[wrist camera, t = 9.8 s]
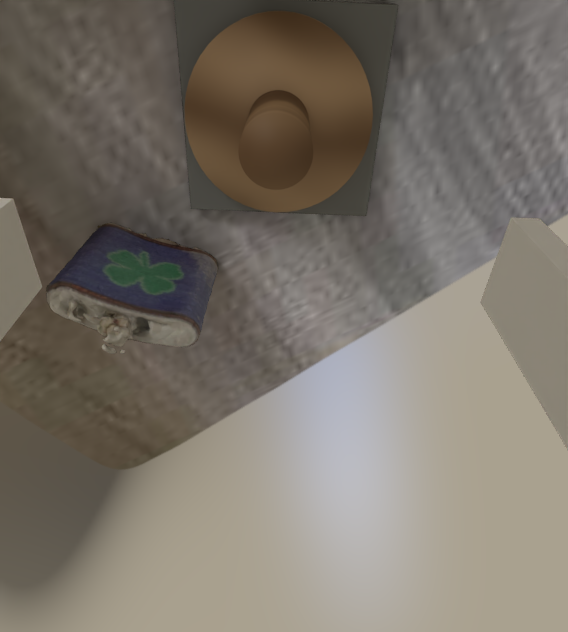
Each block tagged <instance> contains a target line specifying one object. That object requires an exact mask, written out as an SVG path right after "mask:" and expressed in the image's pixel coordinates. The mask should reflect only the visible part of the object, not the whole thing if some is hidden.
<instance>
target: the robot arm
mask: <svg viewBox="0 0 568 632" xmlns="http://www.w3.org/2000/svg"><path fill="white" fill-rule="evenodd" d="M41 288H42V285H41V282H40V279H39V276H38V273H37V270H36V267H35V264H34V260H33V257H32V254H31V251H30V248H29V245H28V242H27V239H26V236H25V233H24V230H23V227H22V224H21V221H20V218H19V215H18V212H17V209H16V206H15V203H14V200H13V198H0V341H1V340H2V338H3V337H4V336H5V334H6V333H7V332H8V331H9V329H10V328H11V327H12V325H13V324H14V323H15V322H16V320H17V319H18V318H19V316H20V315H21V314H22V313H23V311H24V310H25V309H26V307H27V306H28V305H29V304H30V302H31V301H32V300H33V298H34V297H35V296H36V295H37V293H38V292H39V291H40V289H41ZM481 304H482V306H483V307H484V309H485V310H486V312H487V314H488V316H489V317H490V319H491V321H492V322H493V324H494V326H495V327H496V329H497V331H498V333H499V334H500V336H501V338H502V339H503V341H504V343H505V344H506V346H507V348H508V349H509V351H510V353H511V355H512V356H513V358H514V360H515V361H516V363H517V365H518V366H519V368H520V370H521V372H522V373H523V375H524V377H525V378H526V380H527V382H528V383H529V385H530V387H531V388H532V390H533V392H534V394H535V395H536V397H537V399H538V400H539V402H540V404H541V405H542V407H543V409H544V411H545V412H546V414H547V416H548V417H549V419H550V421H551V422H552V424H553V426H554V427H555V429H556V431H557V432H558V434H559V436H560V438H561V439H562V441H563V443H564V444H565V446H566V448H567V449H568V246H567V245H566V244H565V243H564V242H563V241H562V240H561V239H560V238H559V237H558V236H557V235H556V234H555V233H554V232H553V231H552V230H550V228H549V227H547V226H546V225H545V224H544V223H543V222H542V221H541V220H540V219H534V218H511V219H510V222H509V225H508V227H507V230H506V233H505V236H504V239H503V241H502V244H501V247H500V250H499V252H498V255H497V258H496V261H495V263H494V266H493V269H492V272H491V275H490V278H489V280H488V283H487V286H486V288H485V291H484V294H483V297H482V300H481Z"/></svg>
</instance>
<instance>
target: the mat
mask: <svg viewBox="0 0 568 632" xmlns="http://www.w3.org/2000/svg"><path fill="white" fill-rule="evenodd" d="M174 8H175V21H176V33H177V45H178V57H179V69H180V81H181V94H182V106H183V118H184V130H185V142H186V154H187V167H188V179H189V191H190V203H191V209H210V210H234V211H257V212H269V211H262V210H258V209H254V208H251V207H248V206H246V205H243V204H241V203H239V202H237V201H235V200H233V199H232V198H230V197H229V196H227V195H226V194H224V193H223V192H222V191H221V190H220V189H219V188H217V187H216V186H215V185H214V184H213V183H212V181H211V180H210V179H209V178H208V177H207V176H206V174H205V173H204V171H203V170H202V169H201V167H200V165H199V164H198V162H197V160H196V158H195V156H194V154H193V151H192V149H191V146H190V143H189V140H188V136H187V132H186V125H185V107H184V106H185V97H186V91H187V86H188V82H189V79H190V76H191V73H192V71H193V68H194V66H195V64H196V62H197V60H198V59H199V57H200V55H201V54H202V52H203V51H204V50H205V48H206V47H207V45H208V44H209V43H210V42H211V41H212V40H213V39H214V38H215V37H216V36H217V35H218V34H219V33H221V32H222V31H223V30H224V29H226V28H227V27H228V26H230V25H232V24H233V23H235V22H237V21H239V20H241V19H243V18H245V17H248V16H251V15H253V14H257V13H262V12H267V11H289V12H296V13H299V14H303V15H306V16H309V17H311V18H314V19H316V20H318V21H320V22H322V23H323V24H325V25H326V26H328V27H329V28H331V29H332V30H333V31H334V32H336V33H337V34H338V35H339V36H340V37H341V38H342V39H343V40H344V41H345V42H346V43H347V44H348V46H349V47H350V48H351V49H352V50H353V52H354V53H355V55H356V57H357V58H358V60H359V61H360V63H361V65H362V67H363V70H364V72H365V74H366V77H367V80H368V83H369V86H370V91H371V97H372V106H373V120H372V129H371V134H370V139H369V143H368V146H367V149H366V152H365V154H364V156H363V158H362V160H361V162H360V164H359V166H358V167H357V169H356V170H355V172H354V174H353V175H352V176H351V177H350V179H349V180H348V181H347V182H346V183H345V184H344V185H343V186H342V187H341V188H340V189H339V190H338V191H337V192H335V193H334V194H333V195H331V196H330V197H329V198H327V199H325V200H323V201H322V202H320V203H318V204H316V205H313V206H311V207H308V208H305V209H301V210H297V211H290V212H281V213H305V214H328V215H352V216H366V214H367V207H368V201H369V194H370V188H371V181H372V174H373V168H374V161H375V155H376V148H377V141H378V135H379V128H380V122H381V115H382V109H383V102H384V95H385V89H386V82H387V76H388V69H389V62H390V56H391V49H392V43H393V36H394V30H395V23H396V16H397V10H398V5H394V4H373V3H352V2H331V1H311V0H174Z"/></svg>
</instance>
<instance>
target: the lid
mask: <svg viewBox="0 0 568 632" xmlns="http://www.w3.org/2000/svg"><path fill="white" fill-rule="evenodd" d="M184 107H185V125H186V132H187V136H188V140H189V143H190V146H191V149H192V151H193V154H194V156H195V158H196V160H197V162H198V164H199V165H200V167H201V169H202V170H203V171H204V173H205V174H206V176H207V177H208V178H209V179H210V180H211V181H212V183H213V184H214V185H215V186H216V187H217V188H219V189H220V190H221V191H222V192H223V193H224V194H226V195H227V196H229V197H230V198H232V199H233V200H235V201H237V202H239V203H241V204H243V205H246V206H248V207H251V208H254V209H258V210H262V211H269V212H290V211H297V210H301V209H305V208H308V207H311V206H313V205H316V204H318V203H320V202H322V201H323V200H325V199H327V198H329V197H330V196H331V195H333V194H334V193H335V192H337V191H338V190H339V189H340V188H341V187H342V186H343V185H344V184H345V183H346V182H347V181H348V180H349V179H350V177H351V176H352V175H353V174H354V172H355V170H356V169H357V167H358V166H359V164H360V162H361V160H362V158H363V156H364V154H365V152H366V149H367V146H368V143H369V139H370V134H371V129H372V120H373V106H372V97H371V91H370V86H369V83H368V80H367V77H366V74H365V72H364V70H363V67H362V65H361V63H360V61H359V60H358V58H357V57H356V55H355V53H354V52H353V50H352V49H351V48H350V47H349V46H348V44H347V43H346V42H345V41H344V40H343V39H342V38H341V37H340V36H339V35H338V34H337V33H336V32H334V31H333V30H332V29H331V28H329V27H328V26H326V25H325V24H323V23H322V22H320V21H318V20H316V19H314V18H311V17H309V16H306V15H303V14H299V13H296V12H289V11H267V12H262V13H257V14H253V15H251V16H248V17H245V18H243V19H241V20H239V21H237V22H235V23H233V24H232V25H230V26H228V27H227V28H226V29H224V30H223V31H222V32H221V33H219V34H218V35H217V36H216V37H215V38H214V39H213V40H212V41H211V42H210V43H209V44H208V45H207V47H206V48H205V50H204V51H203V52H202V54H201V55H200V57H199V59H198V60H197V62H196V64H195V66H194V68H193V71H192V73H191V76H190V79H189V82H188V86H187V91H186V97H185V106H184Z"/></svg>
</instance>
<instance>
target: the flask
mask: <svg viewBox="0 0 568 632" xmlns="http://www.w3.org/2000/svg"><path fill="white" fill-rule="evenodd" d="M217 271H218V266H217V260H216V259H215V258H214V257H213V256H212V255H210V254H208V253H207V252H205V251H202V250H200V249H199V248H196V247H194V249H191V248H187V247H184V246H181V245H180V244H179V245H178V244H177V243H176V242H172V241H170V240H169V239H164V238H159V239H157V238H156V239H152V238H149V237H147V235H146V233H145V234H137V233H134V232H133V231H131V230H130V228H128V229H127V228H124V227H122V226H119V225H116V224H114V223H107V224H103V225H102V226H98V229H97V230H96V231H95V232H94V233H93V234H92V235H91V236H90V238H89V239H88V240H87V241H86V242H85V244H84V245H83V246H82V247H81V248H80V249H79V250H78V251H77V253H76V254H75V255H74V257H73V258H72V259H71V260H70V261H69V262H68V263H67V264H66V266H65V268H63V269H62V270H61V271H60V273H59V274H58V275H57V276H56V278H55V279H54V280H53V281H52V282H51V283H50V284H49V285H48V286H47V288H46V291H47V293H46V296H47V303H48V305H49V306H50V308H51V310H52V311H54V312H55V313H57V314H58V315H60V316H62V317H64V318H66V319H69V320H72V321H75V322H78V323H80V324H82V325H84V326H86V327H89V328H91V329H94V330H97V331H98V332H99V333H100V334H102V336H103V337H106V338H105V339H103V341H105V342H107V343H109V344H113V345H114V346H123V345H124V343H125V342H126V341H127V339H128V340H135V341H140V342H144V343H151V344H159V345H164V346H176V347H189V346H191V345H193V344H194V343H195V342H196V341H197V340H198V337H199V335H200V332H201V329H202V323H203V319H204V315H205V312H206V309H207V304H208V301H209V297H210V295H211V292H212V287H213V283H214V280H215V277H216V274H217ZM102 349H103V350H104V351H106V352H108V353H110V354H115V353H117V352H116V350H115V348H111V347H107V346H106V345H105V344H104V345H103V346H102ZM120 353H122V354H123V353H125V351H124V350H121V351H120Z"/></svg>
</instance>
